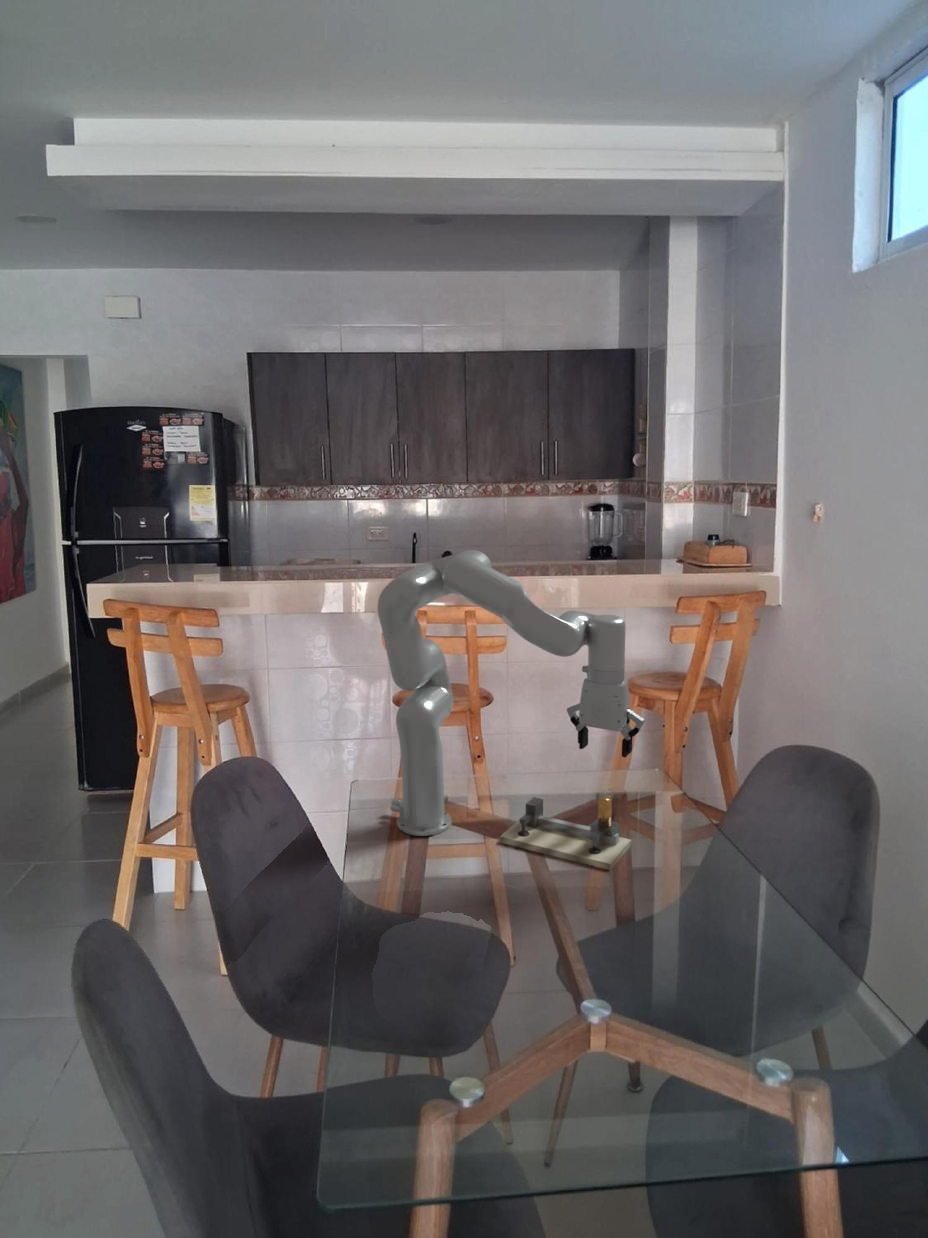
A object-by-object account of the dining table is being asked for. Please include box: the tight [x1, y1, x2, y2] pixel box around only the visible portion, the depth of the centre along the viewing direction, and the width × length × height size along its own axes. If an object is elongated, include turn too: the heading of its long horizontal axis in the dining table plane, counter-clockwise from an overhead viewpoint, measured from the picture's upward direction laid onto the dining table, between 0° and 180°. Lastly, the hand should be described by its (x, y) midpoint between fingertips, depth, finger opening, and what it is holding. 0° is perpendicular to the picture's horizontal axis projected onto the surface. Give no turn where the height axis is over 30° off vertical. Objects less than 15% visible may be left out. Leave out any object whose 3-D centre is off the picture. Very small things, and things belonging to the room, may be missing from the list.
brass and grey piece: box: [589, 795, 620, 850], centre depth 204 cm, size 5×8×9 cm, turn 150°
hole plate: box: [499, 796, 632, 871], centre depth 208 cm, size 26×12×7 cm, turn 60°
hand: (604, 751), depth 202 cm, fingers open, 9 cm apart
